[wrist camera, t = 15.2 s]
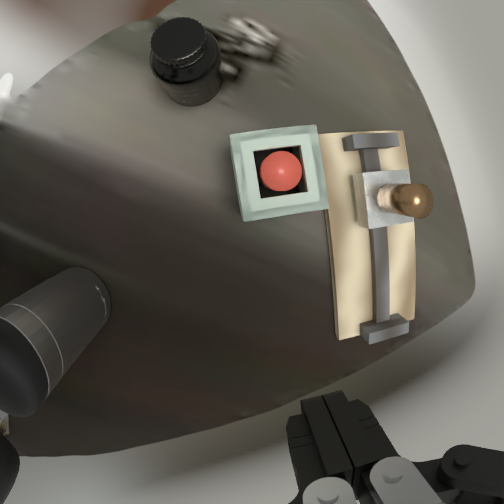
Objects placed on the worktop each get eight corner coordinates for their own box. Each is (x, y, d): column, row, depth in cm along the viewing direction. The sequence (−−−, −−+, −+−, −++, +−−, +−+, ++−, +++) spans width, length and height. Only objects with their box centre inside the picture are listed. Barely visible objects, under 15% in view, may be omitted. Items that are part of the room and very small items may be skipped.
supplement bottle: (173, 55, 30) (152, 6, 18) (227, 61, 31) (227, 10, 19) (159, 104, 31) (129, 68, 20) (215, 111, 32) (209, 74, 20)
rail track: (335, 335, 39) (347, 351, 34) (313, 136, 34) (325, 129, 29) (409, 314, 40) (425, 327, 35) (397, 132, 34) (416, 126, 29)
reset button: (260, 193, 30) (265, 193, 26) (254, 158, 29) (258, 153, 25) (295, 188, 30) (304, 188, 26) (289, 153, 29) (298, 148, 26)
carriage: (355, 224, 34) (397, 238, 25) (349, 174, 33) (390, 170, 23) (397, 218, 34) (445, 229, 25) (391, 170, 33) (440, 167, 23)
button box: (240, 214, 35) (244, 221, 27) (229, 147, 33) (229, 134, 25) (311, 203, 35) (334, 207, 27) (301, 137, 34) (321, 124, 26)
